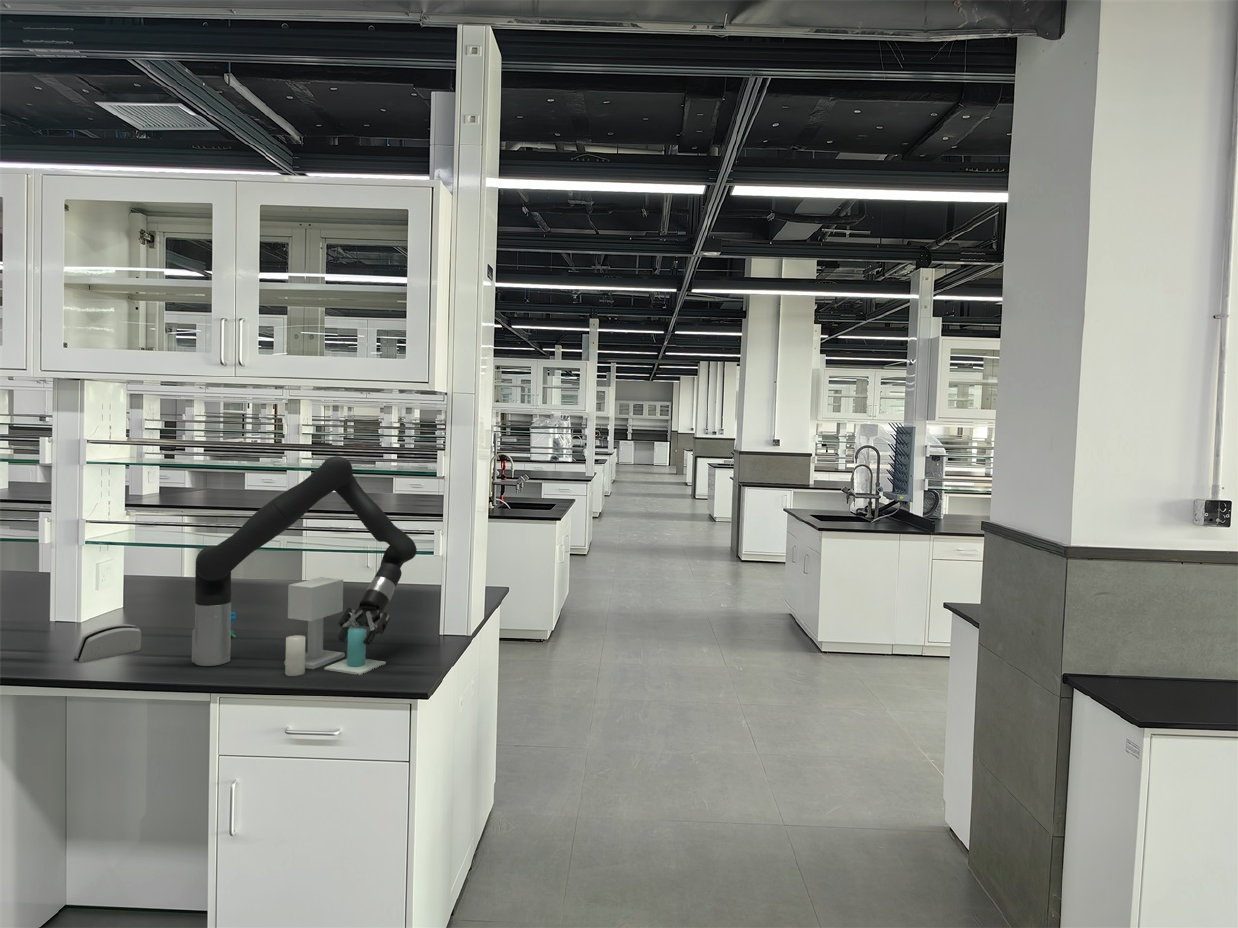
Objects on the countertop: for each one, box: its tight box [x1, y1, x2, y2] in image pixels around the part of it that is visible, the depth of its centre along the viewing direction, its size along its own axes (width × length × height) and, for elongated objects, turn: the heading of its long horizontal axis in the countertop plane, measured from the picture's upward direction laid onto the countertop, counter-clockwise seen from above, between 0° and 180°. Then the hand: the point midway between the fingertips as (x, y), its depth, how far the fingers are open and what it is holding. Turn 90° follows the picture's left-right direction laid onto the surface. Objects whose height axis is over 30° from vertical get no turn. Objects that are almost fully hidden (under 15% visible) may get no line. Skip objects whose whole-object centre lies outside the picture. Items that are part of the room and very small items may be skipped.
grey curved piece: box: [73, 623, 143, 663], centre depth 237 cm, size 17×5×10 cm, turn 149°
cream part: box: [284, 634, 306, 677], centre depth 226 cm, size 5×5×10 cm
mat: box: [323, 658, 387, 676], centre depth 234 cm, size 12×12×1 cm
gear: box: [231, 611, 237, 638], centre depth 263 cm, size 11×6×10 cm
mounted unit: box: [283, 576, 346, 670], centre depth 238 cm, size 10×15×23 cm
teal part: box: [346, 627, 367, 667], centre depth 234 cm, size 5×5×10 cm
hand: (353, 642), depth 232 cm, fingers open, 8 cm apart
